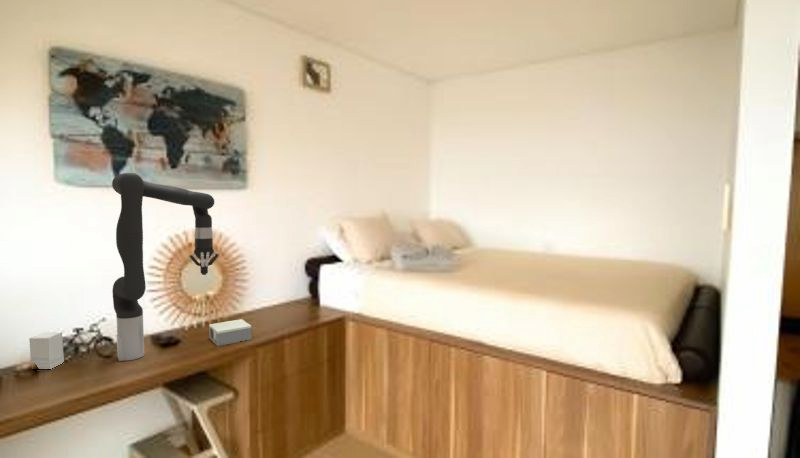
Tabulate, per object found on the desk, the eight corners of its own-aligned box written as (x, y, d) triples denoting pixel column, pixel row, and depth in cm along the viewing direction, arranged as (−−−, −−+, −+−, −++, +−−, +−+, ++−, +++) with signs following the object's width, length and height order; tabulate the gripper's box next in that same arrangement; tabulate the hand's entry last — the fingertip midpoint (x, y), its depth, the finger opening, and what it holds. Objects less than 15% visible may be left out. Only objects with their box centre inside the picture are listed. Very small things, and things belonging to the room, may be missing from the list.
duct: (217, 346, 194) (217, 334, 194) (209, 338, 205) (209, 326, 204) (251, 339, 203) (251, 328, 203) (242, 332, 214) (241, 321, 214)
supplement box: (64, 363, 173) (63, 331, 173) (49, 370, 166) (48, 338, 165) (46, 363, 173) (44, 331, 173) (30, 370, 166) (28, 337, 165)
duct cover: (217, 333, 194) (217, 331, 194) (209, 326, 204) (209, 324, 204) (251, 327, 203) (251, 325, 203) (241, 321, 214) (241, 319, 214)
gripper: (189, 238, 195) (190, 277, 196) (220, 237, 203) (221, 274, 204) (186, 237, 201) (186, 274, 202) (216, 236, 209) (217, 272, 210)
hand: (204, 274), depth 203 cm, fingers closed
